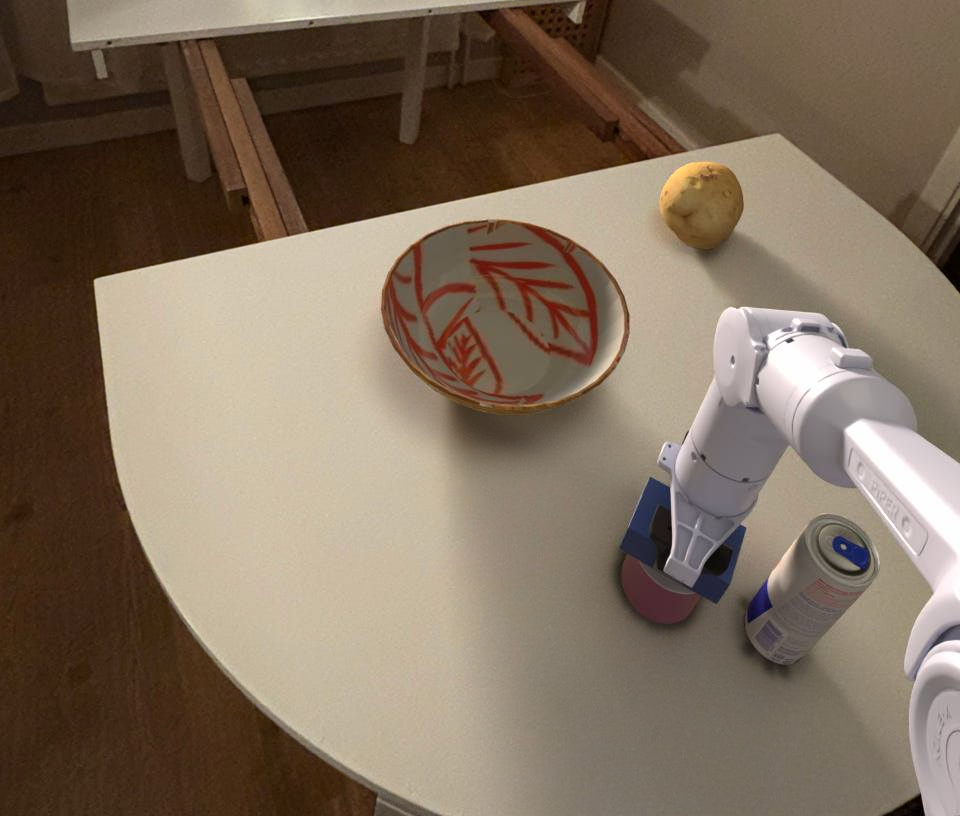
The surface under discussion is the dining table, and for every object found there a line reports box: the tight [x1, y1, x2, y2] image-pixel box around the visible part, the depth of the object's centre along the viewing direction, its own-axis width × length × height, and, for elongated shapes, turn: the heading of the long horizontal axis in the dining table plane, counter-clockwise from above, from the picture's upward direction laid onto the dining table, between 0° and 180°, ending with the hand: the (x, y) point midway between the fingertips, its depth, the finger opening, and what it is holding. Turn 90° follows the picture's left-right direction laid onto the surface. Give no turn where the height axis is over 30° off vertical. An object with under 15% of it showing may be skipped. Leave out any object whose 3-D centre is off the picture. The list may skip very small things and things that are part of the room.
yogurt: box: [620, 553, 702, 625], centre depth 63 cm, size 7×7×6 cm
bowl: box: [380, 218, 631, 416], centre depth 79 cm, size 25×25×8 cm
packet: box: [618, 476, 747, 605], centre depth 60 cm, size 8×5×4 cm, turn 61°
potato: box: [659, 161, 745, 250], centre depth 97 cm, size 10×12×10 cm
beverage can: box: [743, 512, 881, 665], centre depth 58 cm, size 5×5×15 cm
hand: (681, 539), depth 60 cm, fingers closed on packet, 5 cm apart
